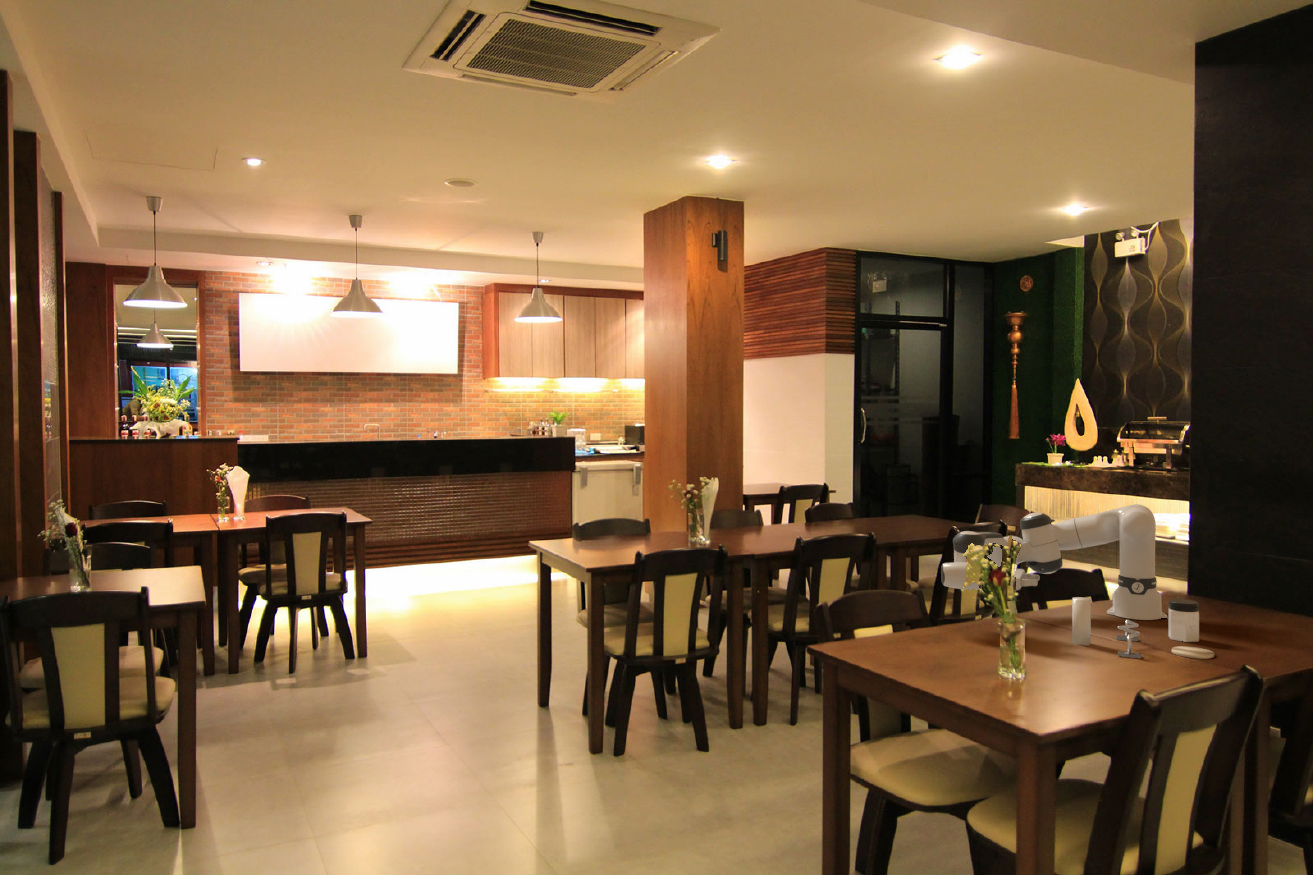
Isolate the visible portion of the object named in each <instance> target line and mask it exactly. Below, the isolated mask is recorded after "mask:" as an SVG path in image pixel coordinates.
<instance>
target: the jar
mask: <svg viewBox="0 0 1313 875" xmlns="http://www.w3.org/2000/svg"><path fill="white" fill-rule="evenodd" d="M1199 606H1200V604H1199V602H1198V601H1196V600H1192V599H1185V598H1171V599H1169V600H1168V615H1167V616H1168V618H1167V620H1168V621H1167V622H1168V627H1167V628H1168V629H1167V630H1168V632H1167V635H1168V638H1169V639H1170V640H1172V641H1177V642H1182V641H1183V643H1195V642H1197V643H1198V642H1199V641H1200V612H1199Z"/></svg>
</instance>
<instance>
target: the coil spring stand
mask: <svg viewBox="0 0 1313 875" xmlns="http://www.w3.org/2000/svg"><path fill="white" fill-rule="evenodd" d="M1139 626H1140V625H1139V623H1137V622H1135V621H1133V620H1130V619H1129V618H1125V625H1117V629H1118V630H1120V631H1124V632H1125V635H1124V634H1116V640H1117V641H1125V642H1127V651H1121V650H1118V651H1117V657H1118V656H1121V657H1120V658H1125V657H1130V658H1129V659H1135V658H1138V659H1137V660H1142V653H1141V652H1132V642H1135V641H1138V642H1139V636H1140V635H1141V632H1140V631H1138V630H1135V629H1134V628H1138V627H1139Z"/></svg>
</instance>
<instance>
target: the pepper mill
mask: <svg viewBox="0 0 1313 875" xmlns="http://www.w3.org/2000/svg"><path fill="white" fill-rule="evenodd" d="M1071 600H1072V602H1071V603H1072V604H1071V606H1072V608H1071V610H1072V611H1071V612H1072V613H1071V614H1072V616H1071V618H1072V619H1071V620H1072V621H1071V623H1072V624H1071V626H1072V627H1071V629H1072V630H1071V632H1072V633H1071V636H1072V638H1071V642H1072V644H1073V645H1076V646H1083V647H1085V646H1091V640H1092V639H1091V638H1092V636H1091V632H1092V629H1091V628H1092V626H1091V624H1092V623H1091V621H1092V619H1091V618H1092V617H1091V616H1092V614H1091V613H1092V609H1091V608H1092V607H1091V606H1092V602H1091V598H1088V597H1081V596H1080V597H1079V596H1077V597H1076V596H1075V597H1072V599H1071Z"/></svg>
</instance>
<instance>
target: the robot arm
mask: <svg viewBox="0 0 1313 875" xmlns="http://www.w3.org/2000/svg"><path fill="white" fill-rule="evenodd" d="M1055 521H1056V520H1055V519H1053V518H1051V517H1050V516H1049V515H1047V514H1046V513H1043V512H1032V513H1031V512H1030V513H1028V514H1027V515H1025V516H1024V517H1021V519H1020V521H1019V528H1020V530H1021V536H1022V538H1021V537H1019V536H1016V535H1011V536H1012V539H1013V540H1016V541H1017V542H1019V543H1021V549H1020V551H1019V553H1018V555H1017V558H1016V566H1017V565H1019V564H1020V563H1021V564H1022V563H1023V562H1026V563H1025V567H1026V568H1030V569H1031V570H1032V571H1034V572H1036V573H1038V574H1032V573H1030V572H1029V573H1028V572H1026V571H1025V569H1023V568H1015V569H1016V571H1015V577H1016V590H1015V591H1020V590H1021V588H1022V587H1037V586H1038V582H1039V581H1040V580H1041V579H1040V577H1041V576H1040V575H1039V574H1045V575H1049V574H1053V573H1056V572H1057V571H1059V570H1061V569H1062V568H1063V557H1062V554H1061V551H1071V550H1079V549H1086V548H1089V547H1090V548H1091V547H1095V546H1101V545H1105V544H1110V543H1113V542H1116V541H1119V574H1118V576H1117V585H1118V586H1117V588H1115V589H1114V590H1113V592H1112V596H1111V598H1112V603H1111V604H1112V606H1111V607H1110V608H1109V609H1108V610H1107V611H1106V614H1107V615H1112V616H1117V617H1119V618H1124V619H1128V620H1130V619H1131V620H1140V621H1154V620H1156V621H1157V620H1159V619H1161V618H1167V619H1168V615H1167V614H1166V613H1165V612H1163V611H1162V593H1160V592H1159V591H1158V590H1157V577H1156V527H1157V526H1156V518H1155V515H1154V512H1152V511H1151V509H1150V508H1149V507H1147V506H1145V505H1142V504H1137V503H1136V504H1130V505H1126V506H1121V507H1117V508H1112V509H1109V510H1105V511H1102V512H1098V513H1094V514H1093V513H1092V514H1088V515H1082V516H1078V517H1073V518H1069V519H1064V520H1063V521H1058V522H1057V523H1056V522H1055ZM1053 522H1055V523H1054V524H1053ZM1009 536H1010V535H1009ZM1009 536H1003V535H1002V534H1001V533H999V532H995V531H994V532H993V531H972V530H971V531H970V530H964V531H960V532H958V533H957V534H956V535H954V537H953V539H952V545H953V559H954V560H953V562H944V563H942V565H941V566H940V567H941V569H940V574H941V583H942V585H943V586H944V587H948V588H952V589H957V590H958V589H959V590H966V591H967V590H977V591H981V590H980V588H979V586H978V584H977V583H976V582H973V583H971V584H970V585H969V586H966V588H963V585H964V582H965V581H966V565H967V559H966V557H964V556H963V555H962V554H964V553H965V552H966V550H967V549H968V545H970V544H971V543H973V544H975V545H987V544H989V543H996V544H998V545H1002V546H1007V545H1008V538H1009ZM987 557H988V558H989V559H991V560H993V562H995V563H996V565H997V566H998V567H1000V566H1001V562H1002V549H1001V548H1000V547H998V546H996V547H994V548H993V552H992V554H990V555H988V556H987Z"/></svg>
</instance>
